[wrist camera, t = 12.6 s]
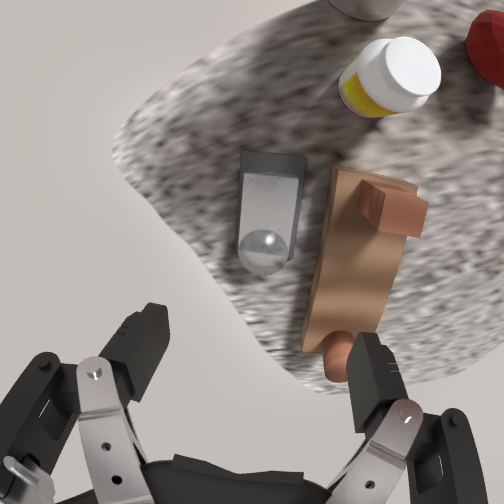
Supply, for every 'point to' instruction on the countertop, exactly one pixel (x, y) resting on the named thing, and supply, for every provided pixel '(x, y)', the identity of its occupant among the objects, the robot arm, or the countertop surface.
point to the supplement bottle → (390, 78)
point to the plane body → (357, 260)
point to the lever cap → (266, 220)
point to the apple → (487, 46)
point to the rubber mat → (279, 165)
